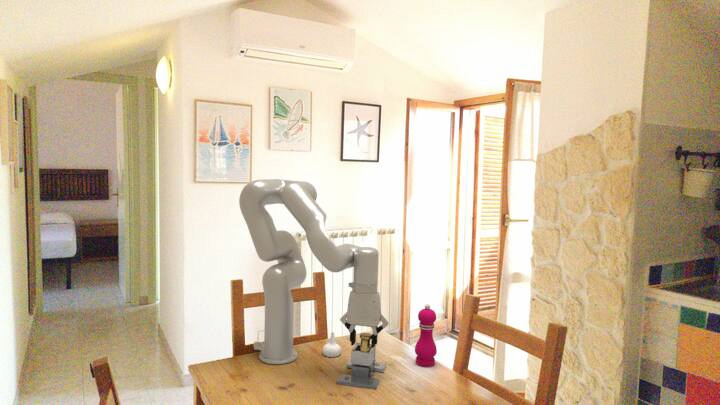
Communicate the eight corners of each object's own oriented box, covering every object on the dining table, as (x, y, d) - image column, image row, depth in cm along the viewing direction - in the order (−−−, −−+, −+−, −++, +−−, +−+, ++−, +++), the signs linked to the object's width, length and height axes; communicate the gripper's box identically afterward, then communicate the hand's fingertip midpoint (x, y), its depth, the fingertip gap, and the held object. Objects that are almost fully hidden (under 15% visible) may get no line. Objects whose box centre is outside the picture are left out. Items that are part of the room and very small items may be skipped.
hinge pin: (355, 376, 151) (358, 336, 150) (358, 371, 155) (361, 332, 153) (367, 378, 150) (370, 338, 149) (370, 373, 154) (373, 333, 153)
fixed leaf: (336, 383, 146) (336, 370, 145) (346, 368, 157) (346, 356, 156) (376, 389, 143) (376, 376, 143) (383, 373, 154) (383, 361, 154)
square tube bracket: (341, 375, 151) (341, 350, 150) (350, 361, 162) (351, 337, 161) (379, 381, 148) (380, 354, 147) (386, 365, 159) (387, 341, 159)
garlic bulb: (330, 361, 164) (333, 338, 163) (318, 354, 168) (320, 331, 167) (344, 356, 168) (346, 334, 167) (331, 349, 173) (333, 327, 171)
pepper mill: (435, 368, 159) (438, 308, 157) (413, 366, 160) (415, 306, 159) (436, 360, 166) (439, 302, 164) (415, 357, 167) (417, 300, 166)
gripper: (334, 288, 149) (333, 346, 150) (390, 293, 145) (388, 352, 146) (341, 282, 156) (339, 337, 157) (394, 287, 152) (392, 344, 153)
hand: (363, 344), depth 152 cm, fingers open, 5 cm apart
